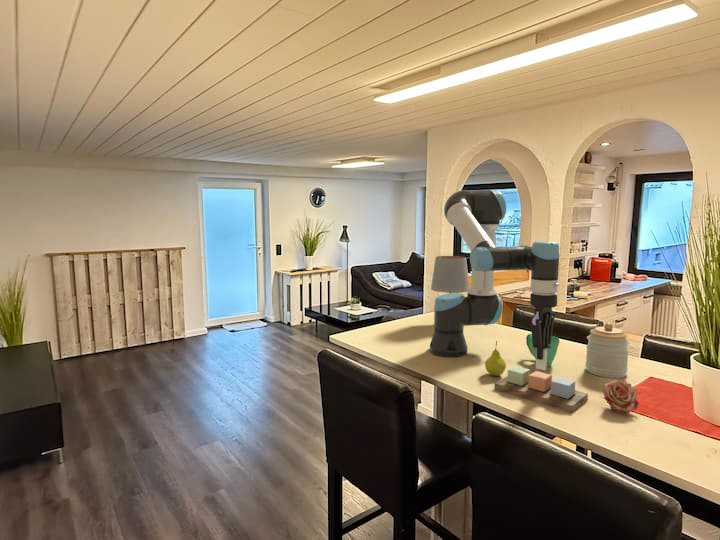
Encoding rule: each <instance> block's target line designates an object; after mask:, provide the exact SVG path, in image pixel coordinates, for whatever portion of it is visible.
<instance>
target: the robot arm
mask: <svg viewBox="0 0 720 540" xmlns="http://www.w3.org/2000/svg"><path fill="white" fill-rule="evenodd" d="M443 212H444V217H445V218H446V220H447V222H448V223H449V225H451V226H454V227H455V229H456V230H457V232H458V234H459V235H460V237H461V238H462V240H463V241H464V243H465V244H466V246H467V247H468V249H469V250H470V254H469V262H470V266H471V287H470V289H469V290H468V291H467V292H466V293H467V296H465V294H463V293H462V292H460V293H443V294H440V295H438V296H437V297H435V299H434V307H433V310H434V311H433V312H434V314H433V315H434V316H433V317H434V319H433V320H434V321H433V324H434V325H433V327H434V328H433V331H434V332H433V335H432V337H431V341H430V343H429V352H430V353H431V354H433V355H436V356H440V357H449V358H455V357H457V358H458V357H461V356H462V357H463V356H465V355H467V354H468V348H469V347H468V344H467V341H466V337H465V335H464V329H465V327H466V326H489V325H495V324H497V323H498V321H500V320H501V318H502V313H503V301H502V298H501V297H500V296H499V295H498V291H496V290H495V288H494V283H495V281H494V280H495V279H494V275H495V271H496V272H497V271H498V272H499V271H500V272H501V271H530V272H531V273H530V292H531V293H530V298H529V299H530V300H529V303H530V305H531V306H532V307H534V312H533V313H534V314H533V317H531V318H529V323H530V328H531V329H530V331H531V333H532V343H533V348H536V359H535V369H537V370H541V371H546V370H547V367H548V366H547V348H551V346H549V345H548V344H551V339H552V336H553V331H554V324H555V322H554V321H555V319H556V313H555V312H553V308H556V307H557V306H558V295H557V293H558V289H559V288H558V287H559V286H560V283H559V271H560V269H559V268H560V267H559V266H560V258H561V257H560V256H561V255H560V245H559V243H558V242H556V241H533V242H532V245H530V246H529V245H518V246H497V245H496V229H497V228H498V227H499V226H500V223H501V221H502V220H504V218H505V217H506V214H507V202H506V199H505V196H504V195H503V193H502V192H500V191H499V190H493V189H474V190H473V189H469V190H468V189H461V190H458V191H456V192H454V193H453V194H451V195H449V197H448V198H447V200H446V202H445V204H444V209H443Z"/></svg>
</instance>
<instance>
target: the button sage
mask: <svg viewBox="0 0 720 540" xmlns="http://www.w3.org/2000/svg"><path fill="white" fill-rule="evenodd" d="M530 374H531V369H529V368H525V367H523V366H517V365H514V366H512V367H510V368H508V369H507V376H506V377H507V382H510V383H514V385H517V386H521V387H523V385H524V384H526V383H528V382H529V375H530Z"/></svg>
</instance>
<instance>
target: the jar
mask: <svg viewBox="0 0 720 540" xmlns="http://www.w3.org/2000/svg"><path fill="white" fill-rule="evenodd" d="M589 333H590V334H589V335H588V336H586V339H587V340H588V343H587V345H586V346H585V347H586V357H585V359H586V361H585V370H586V371H587V372H588V373H589V374H592V375H594V376H597V377H598V376H599V377H603V378H607V379H619V378H621V379H622V378H625V377H626V376H627V373H628V371H629V370H628V359H629V353H630V350H629V349H628V345H630V340H628V339H627V338H626V337H628V334H627V333H626V332H624V331H623V330H622V329H620V328H616V327H614V325H613V324H612V323H611V322H606V323H605V324H604V326H596V327H594V328H592V329H590V331H589Z"/></svg>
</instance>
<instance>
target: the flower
mask: <svg viewBox="0 0 720 540" xmlns="http://www.w3.org/2000/svg"><path fill="white" fill-rule="evenodd" d="M602 390H603V397H602V396H600V398H602V399H604V400H605V401H606V403H607V404H608V405H609V406H610V411H609V412H611V411H613V410H616V411H618V410H619V411H624V412H625V413H627V414H630V412H632V411H635V410H638V408H639V405H640V404H639V402H640V401H639V398H637V396H638V389H637V388H636V387H632V384H631V383H628V381H624V380H620V379H619V378H616V379H615V380H613V381H611V382H606V383H603V389H602Z"/></svg>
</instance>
